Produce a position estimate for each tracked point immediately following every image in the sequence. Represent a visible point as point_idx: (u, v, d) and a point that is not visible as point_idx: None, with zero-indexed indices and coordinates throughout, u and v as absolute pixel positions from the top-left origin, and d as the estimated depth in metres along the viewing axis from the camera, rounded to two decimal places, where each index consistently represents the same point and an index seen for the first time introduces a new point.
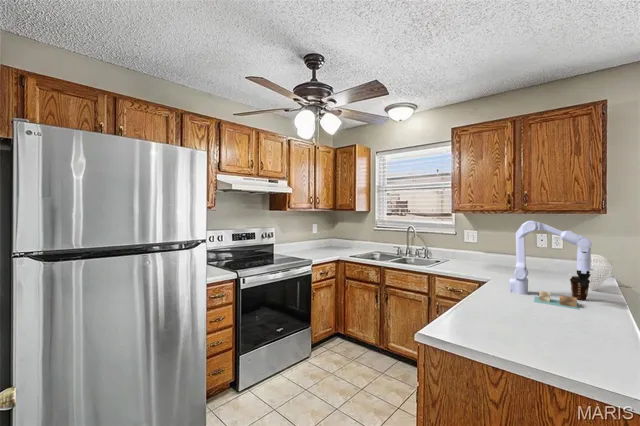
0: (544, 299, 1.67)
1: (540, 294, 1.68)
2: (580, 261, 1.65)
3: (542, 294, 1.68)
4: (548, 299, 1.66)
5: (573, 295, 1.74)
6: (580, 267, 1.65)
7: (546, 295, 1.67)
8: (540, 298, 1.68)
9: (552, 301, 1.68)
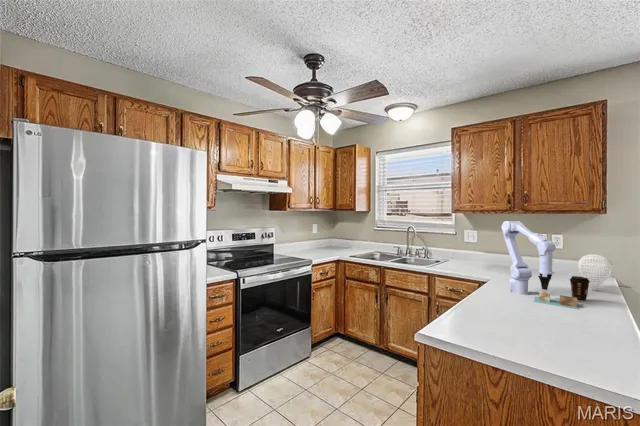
0: (544, 299, 1.67)
1: (540, 294, 1.68)
2: (542, 264, 1.68)
3: (542, 294, 1.68)
4: (548, 299, 1.66)
5: (573, 295, 1.74)
6: (542, 270, 1.68)
7: (546, 295, 1.67)
8: (540, 298, 1.68)
9: (552, 301, 1.68)
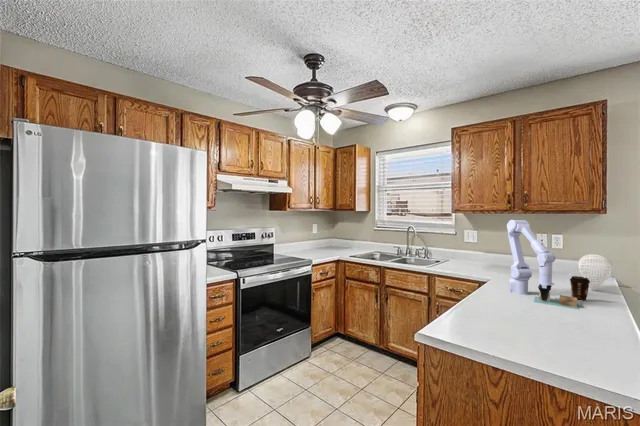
0: None
1: (540, 294, 1.68)
2: (541, 275, 1.68)
3: None
4: (548, 299, 1.66)
5: (573, 295, 1.74)
6: (541, 281, 1.68)
7: None
8: (540, 298, 1.68)
9: (552, 301, 1.68)
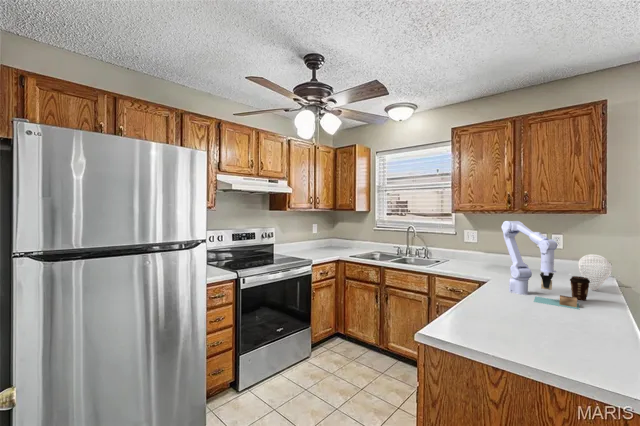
0: None
1: (542, 282, 1.68)
2: (543, 263, 1.67)
3: None
4: (550, 287, 1.65)
5: (573, 295, 1.74)
6: (543, 269, 1.67)
7: None
8: (542, 285, 1.68)
9: (552, 301, 1.68)
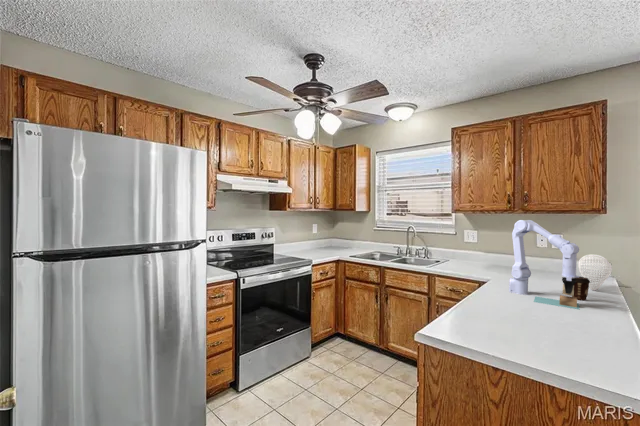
0: None
1: (563, 287, 1.62)
2: (565, 268, 1.61)
3: None
4: (572, 292, 1.60)
5: None
6: (565, 274, 1.61)
7: None
8: (563, 291, 1.62)
9: (552, 301, 1.68)
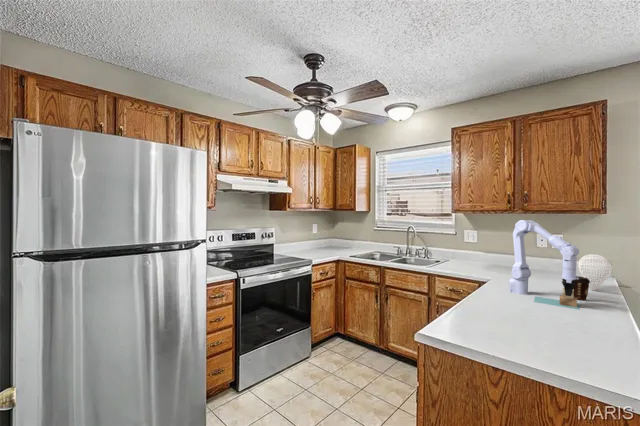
0: (568, 296, 1.61)
1: (563, 291, 1.62)
2: (565, 270, 1.61)
3: None
4: (572, 296, 1.60)
5: None
6: (565, 276, 1.61)
7: None
8: (563, 295, 1.62)
9: (552, 301, 1.68)
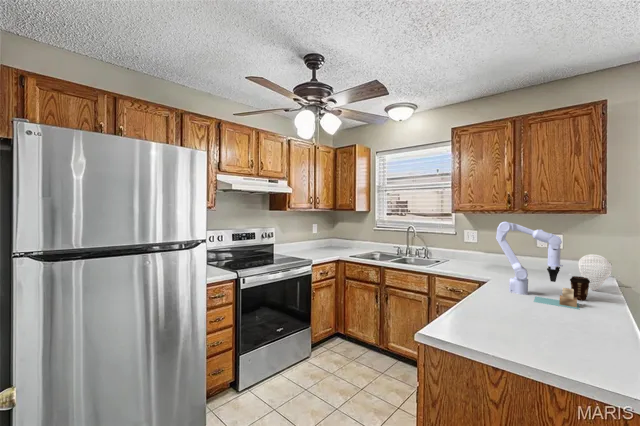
0: (568, 296, 1.61)
1: (563, 291, 1.62)
2: (550, 258, 1.75)
3: (565, 291, 1.62)
4: (572, 296, 1.60)
5: None
6: (550, 263, 1.75)
7: (570, 292, 1.60)
8: (563, 295, 1.62)
9: (552, 301, 1.68)
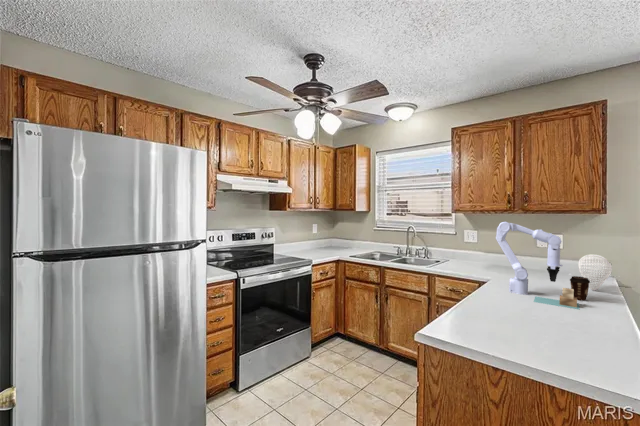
0: (568, 296, 1.61)
1: (563, 291, 1.62)
2: (550, 257, 1.75)
3: (565, 291, 1.62)
4: (572, 296, 1.60)
5: None
6: (550, 263, 1.75)
7: (570, 292, 1.60)
8: (563, 295, 1.62)
9: (552, 301, 1.68)
